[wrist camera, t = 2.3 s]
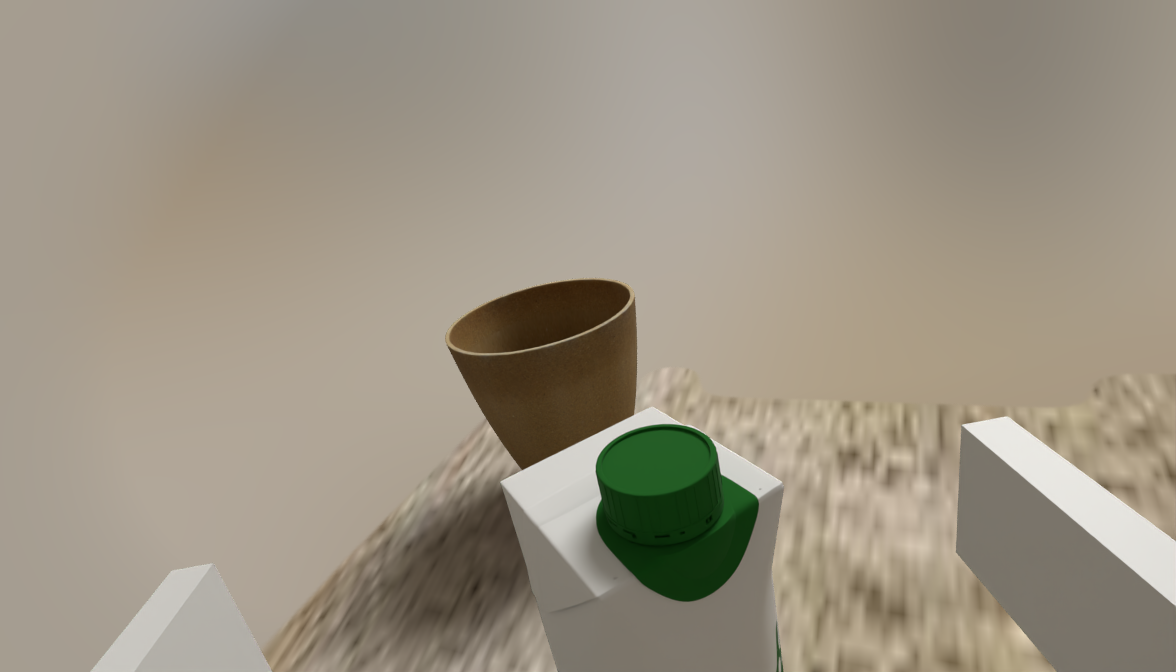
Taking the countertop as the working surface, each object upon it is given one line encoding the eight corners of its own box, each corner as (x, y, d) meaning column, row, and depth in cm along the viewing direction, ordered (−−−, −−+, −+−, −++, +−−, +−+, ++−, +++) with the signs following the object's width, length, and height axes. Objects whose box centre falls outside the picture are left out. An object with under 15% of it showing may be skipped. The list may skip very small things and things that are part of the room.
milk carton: (680, 956, 24) (572, 565, 16) (571, 764, 32) (463, 435, 24) (836, 808, 27) (807, 428, 20) (704, 667, 35) (646, 352, 27)
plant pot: (691, 440, 56) (664, 273, 50) (619, 556, 44) (572, 358, 38) (554, 423, 63) (516, 277, 57) (463, 519, 52) (403, 349, 46)
